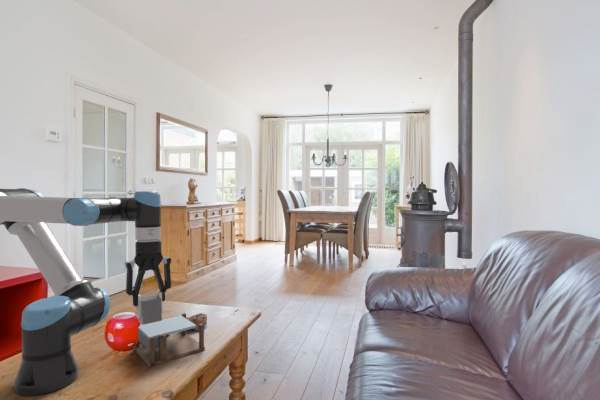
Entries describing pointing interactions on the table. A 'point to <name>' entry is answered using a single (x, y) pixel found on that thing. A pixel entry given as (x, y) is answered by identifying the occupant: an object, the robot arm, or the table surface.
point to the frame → (170, 347)
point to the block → (150, 309)
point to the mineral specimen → (198, 320)
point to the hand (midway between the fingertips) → (149, 313)
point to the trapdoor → (163, 329)
